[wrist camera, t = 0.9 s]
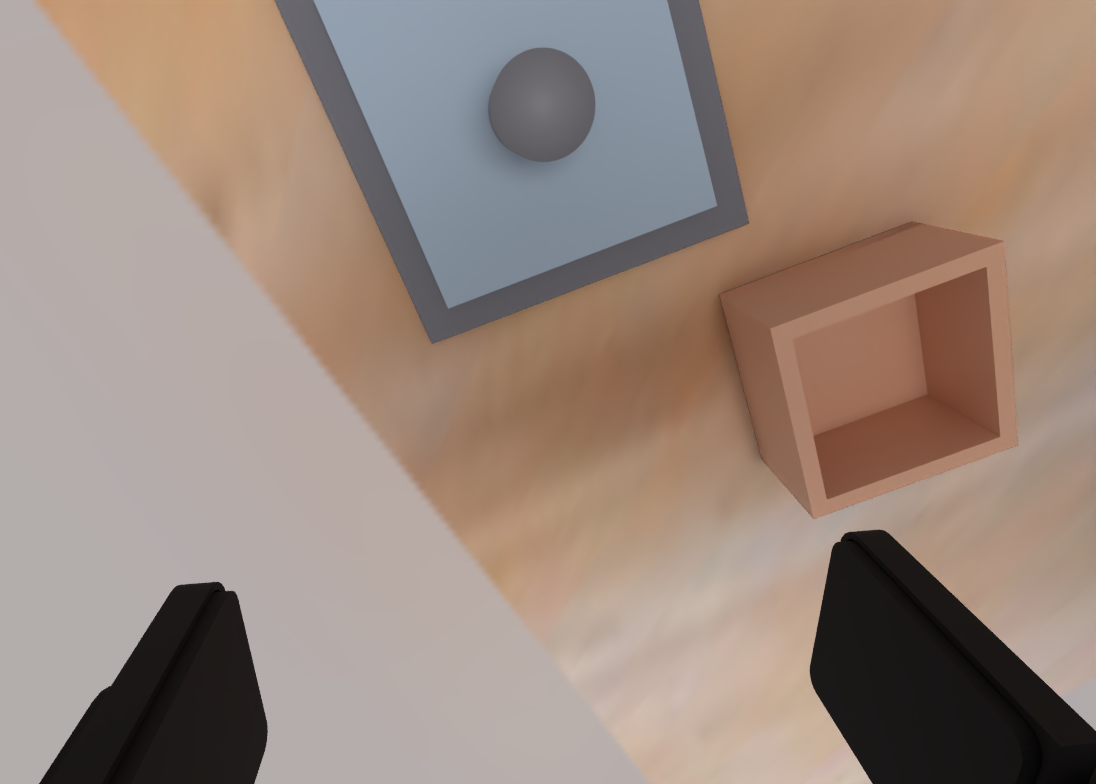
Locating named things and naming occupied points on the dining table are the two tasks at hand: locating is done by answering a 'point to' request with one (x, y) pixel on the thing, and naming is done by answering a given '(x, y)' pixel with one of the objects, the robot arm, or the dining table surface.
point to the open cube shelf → (877, 363)
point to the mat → (446, 323)
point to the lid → (524, 127)
